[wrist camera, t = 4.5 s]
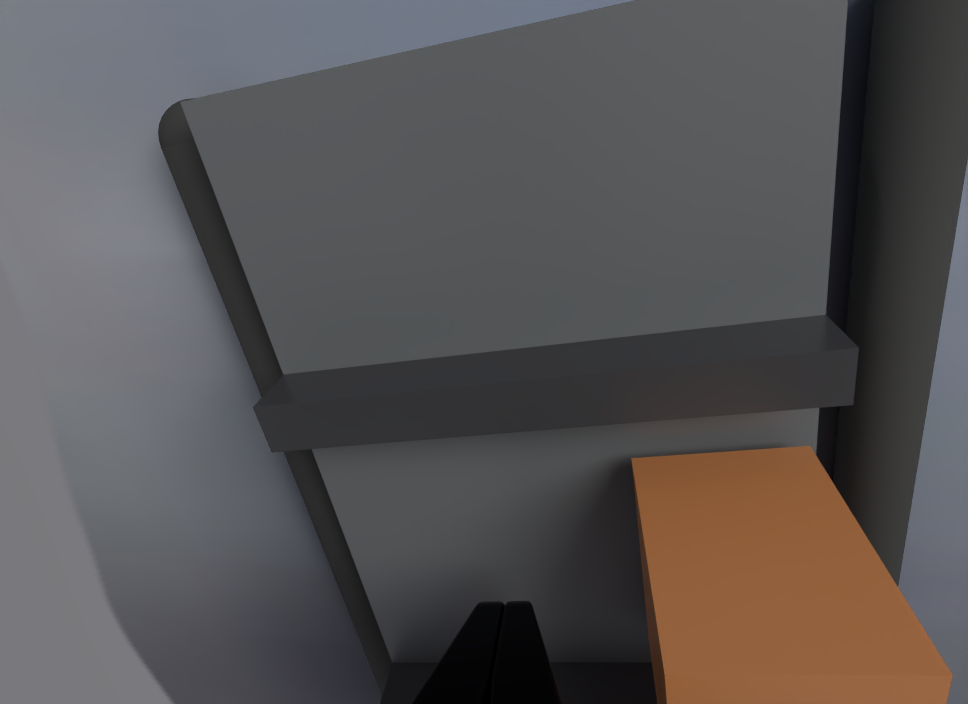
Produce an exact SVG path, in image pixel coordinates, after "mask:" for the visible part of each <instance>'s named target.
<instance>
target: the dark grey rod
mask: <svg viewBox="0 0 968 704" xmlns="http://www.w3.org/2000/svg"><path fill="white" fill-rule="evenodd" d="M193 99H195V98H193ZM186 100H191V99H185V100H182V101H186ZM182 101H179V102H177V103H175V104H173V105H172V106H171V107H169V108H168V109H167V110H166V112H165V113H164V115H163V116H162V118H161V121H160V124H159V130H158V134H159V142H160V145H161V148H162V151H163V153H164V156H165V158H166V161H167V163H168V166H169V168H170V171H171V173H172V176H173V178H174V181H175V183H176V186H177V188H178V190H179V193H180V195H181V198H182V200H183V203H184V205H185V208H186V210H187V213H188V215H189V218H190V220H191V223H192V225H193V228H194V230H195V233H196V235H197V238H198V240H199V242H200V245H201V247H202V250H203V252H204V255H205V257H206V260H207V262H208V265H209V267H210V270H211V272H212V275H213V277H214V280H215V282H216V285H217V287H218V289H219V292H220V294H221V297H222V299H223V302H224V304H225V307H226V309H227V312H228V314H229V317H230V319H231V322H232V324H233V327H234V329H235V332H236V334H237V336H238V339H239V341H240V344H241V346H242V349H243V351H244V354H245V356H246V359H247V361H248V364H249V366H250V369H251V371H252V374H253V376H254V379H255V381H256V383H257V386H258V388H259V391H260V393H261V396H262V397H263V396H264V395H265V394H266V393H267V392H268V391H269V390H270V389H271V387H272V386H273V385H274V384H275V383H276V382H277V381H278V380H279V379H280V378H281V376H282V375H283V372H282V370H281V367H280V364H279V362H278V359H277V357H276V354H275V351H274V349H273V346H272V343H271V341H270V338H269V335H268V333H267V330H266V327H265V325H264V322H263V320H262V317H261V314H260V312H259V309H258V306H257V304H256V301H255V298H254V296H253V293H252V291H251V288H250V285H249V283H248V280H247V277H246V275H245V272H244V269H243V267H242V264H241V261H240V259H239V256H238V254H237V251H236V248H235V246H234V243H233V240H232V238H231V235H230V232H229V230H228V227H227V225H226V222H225V219H224V217H223V214H222V211H221V209H220V206H219V203H218V201H217V198H216V195H215V193H214V190H213V188H212V185H211V182H210V180H209V177H208V174H207V172H206V169H205V166H204V164H203V161H202V159H201V156H200V153H199V151H198V148H197V145H196V143H195V140H194V137H193V135H192V132H191V129H190V127H189V124H188V122H187V119H186V116H185V114H184V111H183V108H182V106H181V103H180V102H182ZM284 453H285V455H286V458H287V460H288V463H289V465H290V468H291V470H292V473H293V475H294V478H295V480H296V482H297V485H298V487H299V490H300V492H301V495H302V497H303V500H304V502H305V505H306V507H307V510H308V512H309V515H310V517H311V520H312V522H313V525H314V527H315V529H316V532H317V534H318V537H319V539H320V542H321V544H322V547H323V549H324V552H325V554H326V557H327V559H328V562H329V564H330V567H331V569H332V572H333V574H334V576H335V579H336V581H337V584H338V586H339V589H340V591H341V594H342V596H343V599H344V601H345V604H346V606H347V609H348V611H349V614H350V616H351V619H352V621H353V623H354V626H355V628H356V631H357V633H358V636H359V638H360V641H361V643H362V646H363V648H364V651H365V653H366V656H367V658H368V661H369V663H370V666H371V668H372V671H373V673H374V675H375V678H376V680H377V683H378V685H379V688H380V690H381V693H382V695H383V693H384V689H385V686H386V683H387V679H388V676H389V672H390V669H391V666H392V660H391V658H390V655H389V652H388V650H387V647H386V644H385V642H384V639H383V636H382V634H381V631H380V628H379V626H378V623H377V621H376V618H375V615H374V613H373V610H372V607H371V605H370V602H369V599H368V597H367V594H366V592H365V589H364V586H363V584H362V581H361V578H360V576H359V573H358V570H357V568H356V565H355V562H354V560H353V557H352V555H351V552H350V549H349V547H348V544H347V541H346V539H345V536H344V533H343V531H342V528H341V526H340V523H339V520H338V518H337V515H336V512H335V510H334V507H333V504H332V502H331V499H330V496H329V494H328V491H327V489H326V486H325V483H324V481H323V478H322V475H321V473H320V470H319V467H318V465H317V462H316V460H315V457H314V454H313V452H312V449H306V450H294V451H284Z"/></svg>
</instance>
